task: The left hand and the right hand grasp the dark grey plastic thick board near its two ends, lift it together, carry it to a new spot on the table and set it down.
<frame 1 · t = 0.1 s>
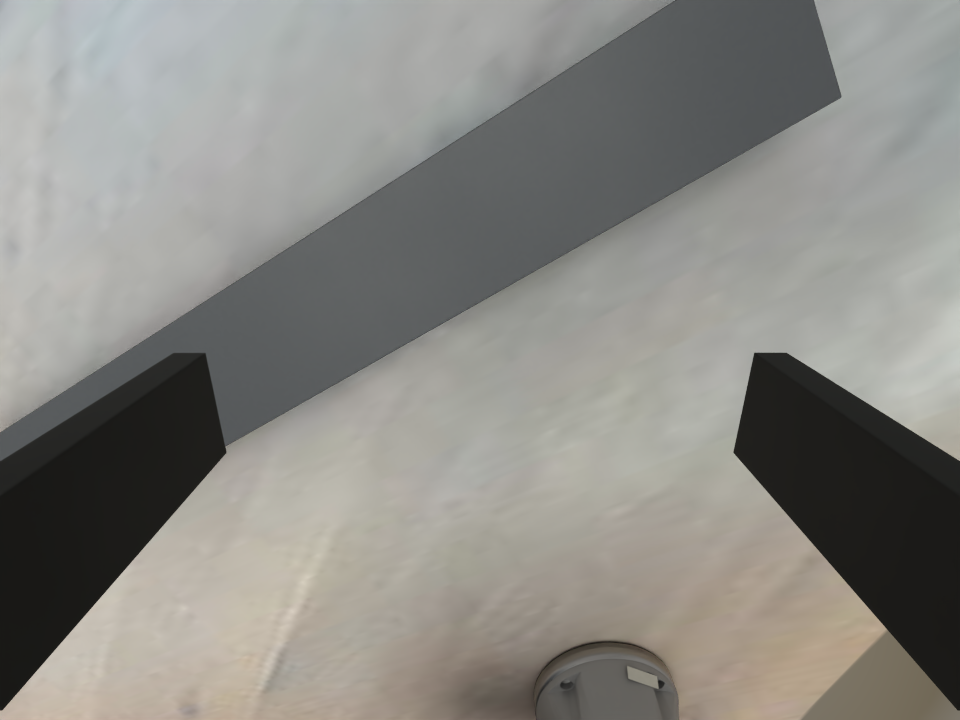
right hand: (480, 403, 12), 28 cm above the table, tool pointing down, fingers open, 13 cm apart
thick board: (345, 291, 40), on the table
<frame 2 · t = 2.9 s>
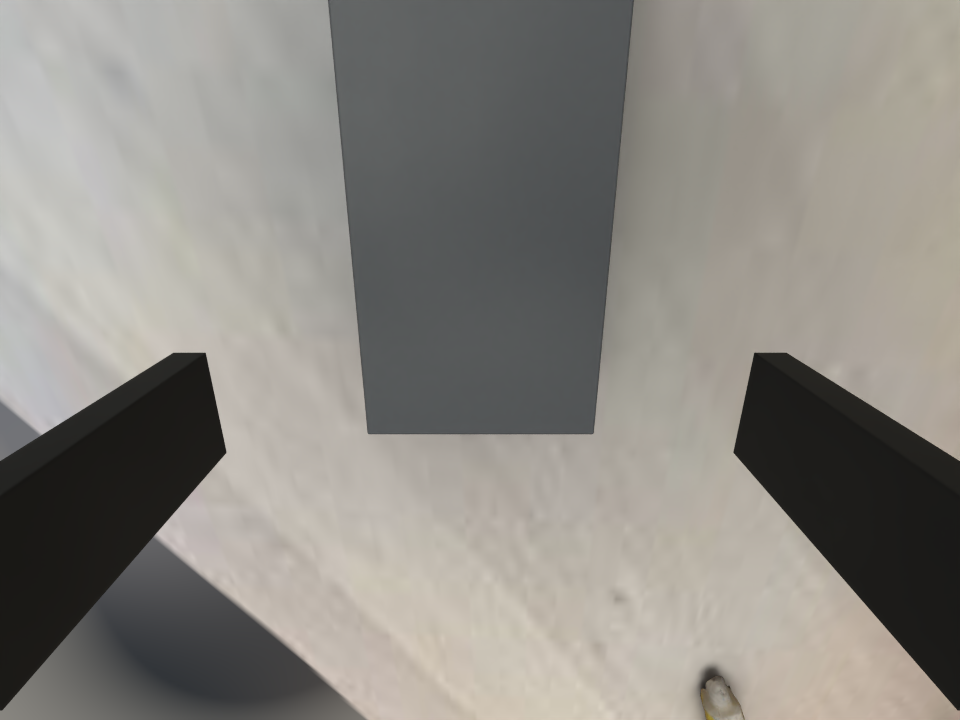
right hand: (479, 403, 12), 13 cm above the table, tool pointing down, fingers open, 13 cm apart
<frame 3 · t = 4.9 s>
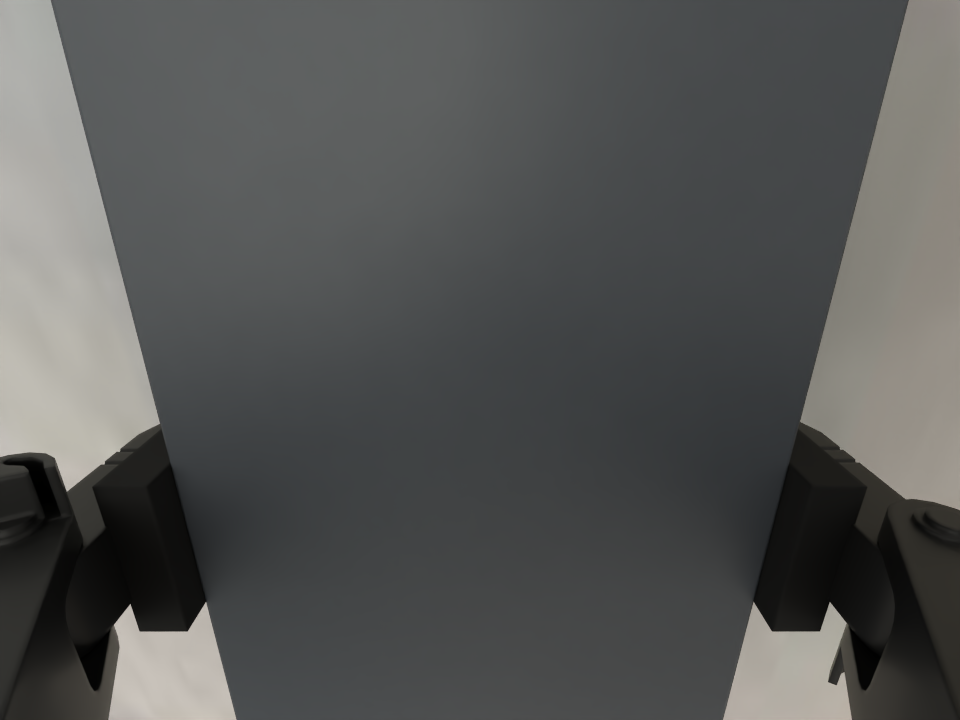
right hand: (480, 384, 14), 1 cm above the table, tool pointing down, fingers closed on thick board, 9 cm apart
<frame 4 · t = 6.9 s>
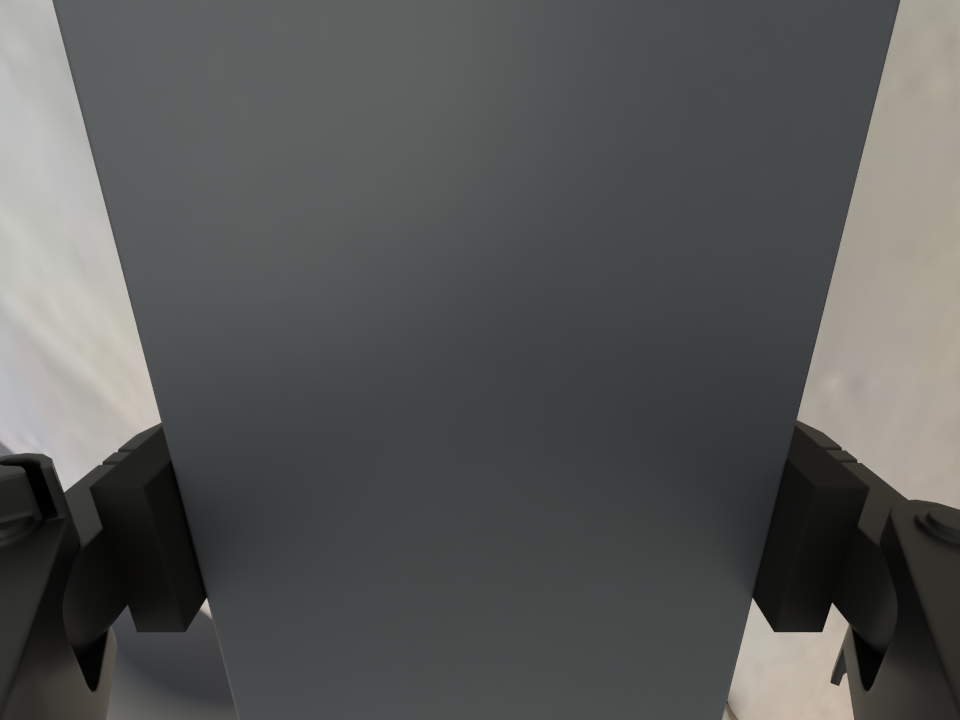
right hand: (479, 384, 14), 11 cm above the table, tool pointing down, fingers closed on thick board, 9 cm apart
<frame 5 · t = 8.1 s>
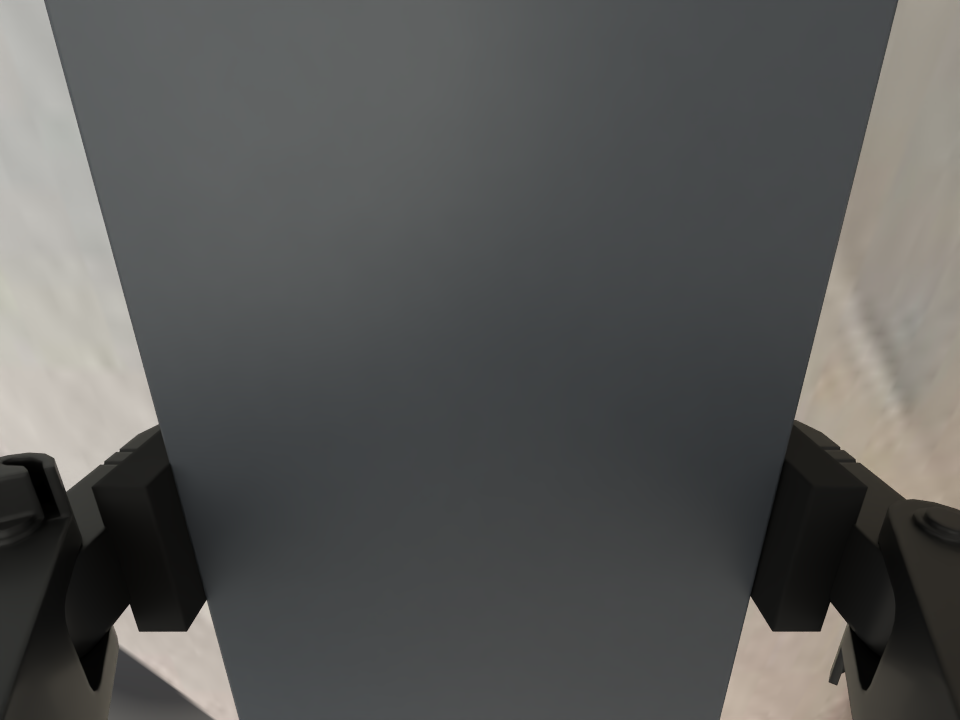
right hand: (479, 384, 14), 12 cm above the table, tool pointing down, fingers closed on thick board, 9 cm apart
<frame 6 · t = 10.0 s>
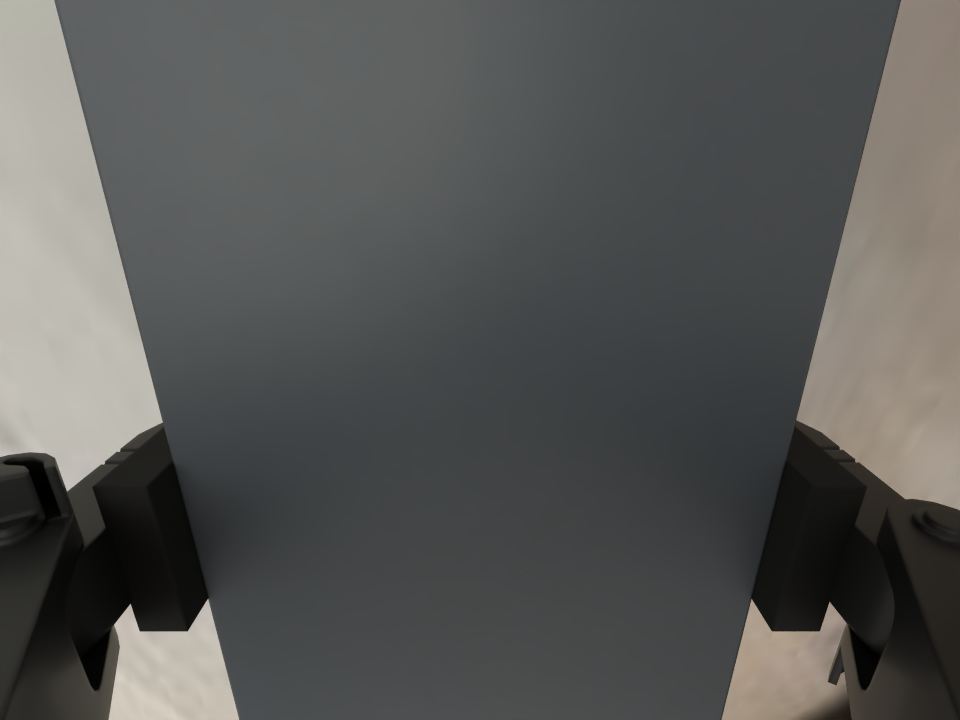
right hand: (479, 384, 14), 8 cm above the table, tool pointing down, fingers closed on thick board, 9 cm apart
when the left hand's fingers open (2 cm above the table, at t = 11.4 s): thick board stays where it is, on the table.
when the right hand's fingers open (2 cm above the table, at t = 11.4 s): thick board stays where it is, on the table.
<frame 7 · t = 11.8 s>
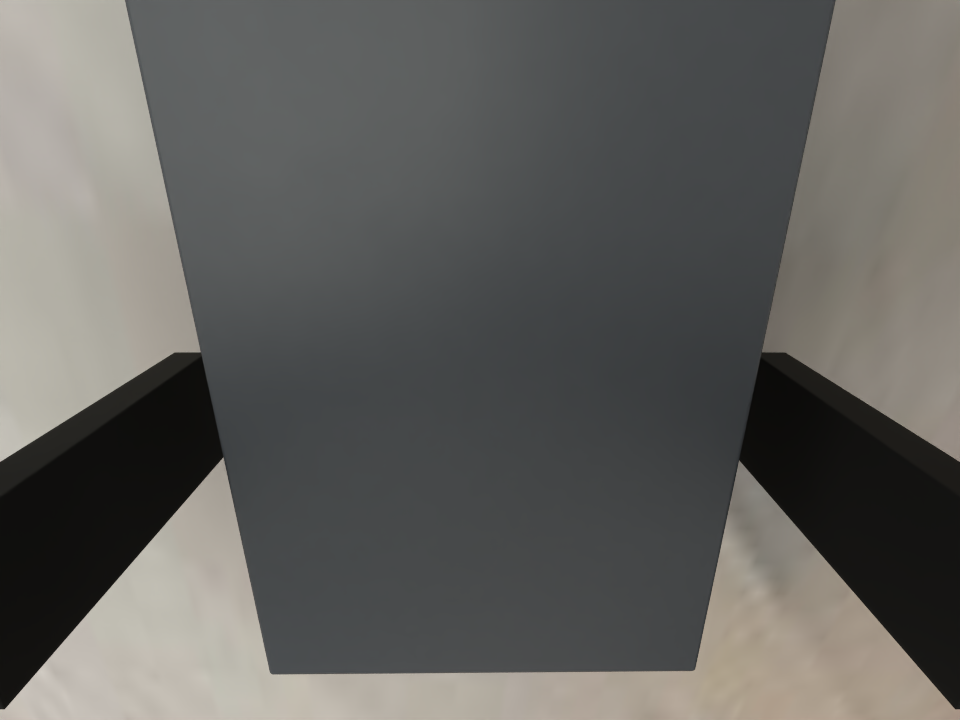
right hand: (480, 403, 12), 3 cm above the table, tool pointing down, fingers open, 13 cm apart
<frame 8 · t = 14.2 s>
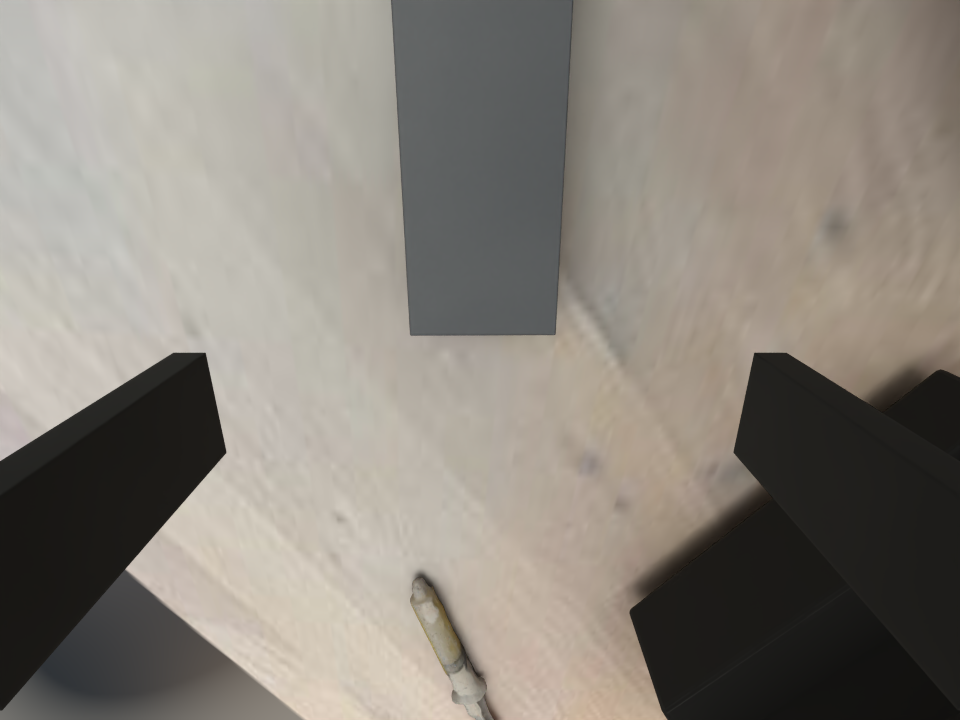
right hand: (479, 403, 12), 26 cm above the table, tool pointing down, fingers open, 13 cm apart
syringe: (464, 664, 52), on the table
dark grey storage case: (827, 548, 46), on the table
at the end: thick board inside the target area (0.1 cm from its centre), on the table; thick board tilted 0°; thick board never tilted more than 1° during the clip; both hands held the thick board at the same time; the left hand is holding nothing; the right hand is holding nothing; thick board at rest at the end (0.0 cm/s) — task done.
